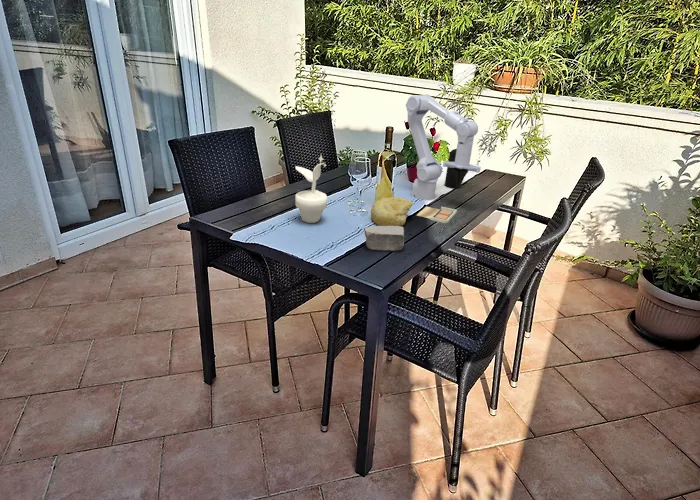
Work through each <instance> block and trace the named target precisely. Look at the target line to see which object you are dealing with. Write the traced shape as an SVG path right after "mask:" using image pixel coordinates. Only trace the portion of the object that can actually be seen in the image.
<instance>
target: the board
mask: <svg viewBox="0 0 700 500" xmlns="http://www.w3.org/2000/svg"><path fill="white" fill-rule="evenodd" d="M440 211H441V208H440V209H439V208H436V207H430V206H425V207H424V208H423V209H422V210H420V211H419V212H418V213H417V214H416V216H418V217H423V218H427V219H429V220H430V217H434V216H436V215H437V214H439V212H440Z"/></svg>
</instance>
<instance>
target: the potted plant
mask: <svg viewBox="0 0 700 500" xmlns="http://www.w3.org/2000/svg"><path fill="white" fill-rule="evenodd" d="M317 159H318V160H319V164H317V165H316V166H315V167H314V168H313V171H312V170H310V169H307V168H305V167H302V166H298V165H297V166H296V165H295V170H296V171H297V172H298V173H300V174H301V175H302V176H304V178H305V179H306V180H307V181H308V182H309V183H311V190H302V191H298V192H297V193H296V194H295V197H294V198H295V200H294V201H295V204H294V205H295V207H296V208H297V209H298V212H299V214H300V216H301V220H302V221H303V222H304V223H307V224H315V223H317V222H319V221H320V220H321V218H322V214H323V213H324V210H325V209H326V208H327V207H328V195H327V194H326V193H324V192H322V191H319V190H318V189H316V187H317V180H319V178H320V177H321V174H322V169H321V168H322V167H321V166H323V167H326V166H327V164H326V163H325V162H322V161H323V160H325V159H324V158H323V156H322V154H320V157H318V158H317Z"/></svg>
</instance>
